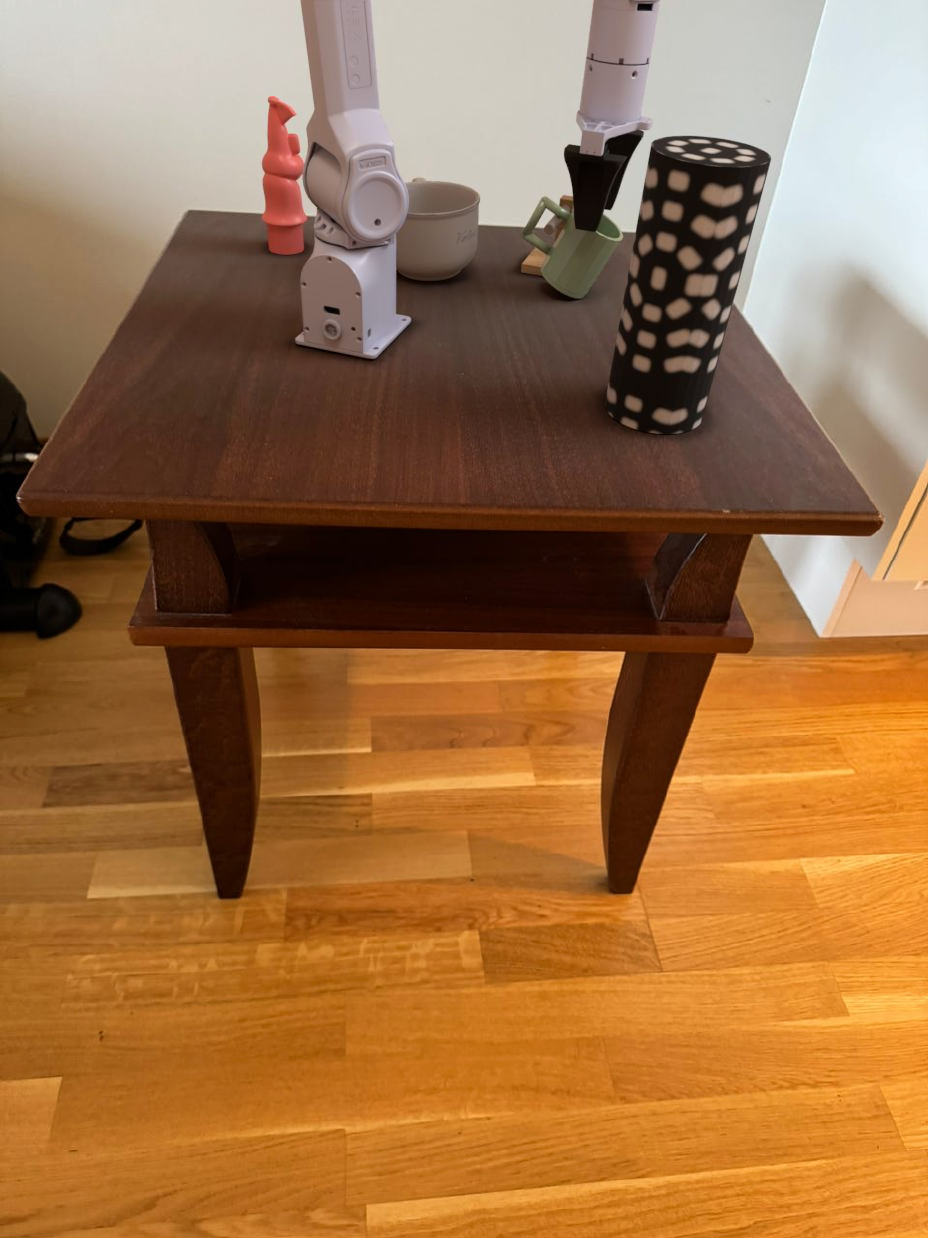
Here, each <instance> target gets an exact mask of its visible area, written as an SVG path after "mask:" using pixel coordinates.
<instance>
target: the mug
mask: <svg viewBox="0 0 928 1238" xmlns="http://www.w3.org/2000/svg"><path fill="white" fill-rule="evenodd" d="M546 210H548V211H549V212H551V213H552V214H553V215H556V216H558V217H559V218H561V219H562V220H564V221H565V222H566V225H565V226H564V228H563V230H562V231H561V233H560V235H559V236H558V238H557V240H556V241H555V240H554V243H553V245H552V246H551V245H549V244H548V243H547V242H545V241H543V240H542V239H541V238H539V237H538V236H536V235H535V234H534V233H533V232H534V230H535V229H536V227H537V226H538V224H539V221H540V220H541V218H542V217H543V214H544V213H545V211H546ZM521 238H522V239H523V240H525V241H526V242H527V243H528V244H530V245H532V246H533V247H534V248H535V247H536V248H537V249H539V250H540V251H542V252H543V253H545V254H546V255H547V257H546V258H545V260H544V262H543V264H542V265H541V273H542V275H543V276H542V277H543V278H544V280H545V281H546V282H547V283H548V284H549V285H550V286H551V287H553V288H554V289H555V290H556V291H558V292H560V293H561V294H563V295H564V296H567V297H570V298H573V299H584V298H585V297H586V295H587V294H588V292H589V291H590V289H591V288H592V286H593V285H594V283H595V282H596V280H597V279H598V277H599V275H600V274H601V272H602V271H603V270H604V268H605V266H606V265H607V263H608V262H609V260H610V259H611V257H612V255H613V254H614V252H615V251H616V250H617V248H618V246H619V245H620V243H621V242H622V240H623V238H624V234H623V232H622V230H621V228H620V227H619V226H618V225H617V223H615V222H614V221H613V219H611V218H610V217H609V216H607V215H606V214H605V213H603V216H602V219H601V222H600V224H599V227H598V229H597V231H596V232H591V231H585V230H579V229H575V222H574V211H573V213H572V214H570V213H569V212H568V211H566V210H565V209H563V208H562V207H561V206H559V204H558V203H556V202H555V201H553V199H551V198H549V197H548V196H545V195H544V196H542V197H541V198H540V200H539V202H538V204H537V206H535V209H534V211H533V212H532V214H531V216H530V218H529V219H528V222H527V223H526V225H525V226H524V229H522V232H521Z"/></svg>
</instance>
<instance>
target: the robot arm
mask: <svg viewBox="0 0 928 1238" xmlns="http://www.w3.org/2000/svg"><path fill="white" fill-rule="evenodd" d="M299 2H300V8H301V15H302V22H303V31H304V39H305V45H306V46H305V47H306V54H307V55H306V56H307V62H308V69H309V77H310V85H311V92H312V93H311V94H312V100H313V113H312V114H311V116H310V119H309V121H308V122H307V124H306V128H305V131H306V137H307V139H306V140H307V151H306V156H305V160H304V166H303V173H302V175H301V177H302V185H303V188H304V189H303V190H304V192H305V194H306V196H307V198H308V200H309V201H310V202H311V204H312V205H314V207H315V208H316V215H315V218H314V224H313V231H314V245H313V251H312V253H311V255H310V257H309V258H308V259H307V261H306V262H305V264H304V265H303V267H302V270H301V272H300V275H299V276H300V277H299V279H300V280H299V288H300V300H301V301H300V302H301V315H302V316H301V317H302V328H303V329H302V330H303V331H302V332H300V333H299V334H298V335H297V336H296V337H295V338H294V343H295V344H297V345H299V346H305V347H310V348H314V349H318V350H319V349H320V350H324V351H330V352H334V353H338V354H339V353H340V354H343V355H350V356H353V357H358V358H363V359H369V360H374V359H376V358H378V357H379V356H380V355H381V354H382V353H383V351H385V349H386V348H387V347H388V346H390V345H391V343H392V342H393V341H394V340H396V338H397V337H398V336H399V335H400V334H401V333H402V332H403V331H404V330H405V329H406V328H407V327H408V326H409V325H410V324H411V322H412V318H411V317H410V316H408V315H404V314H400V313H399V314H397V269H396V233H397V232H398V231H399V229H400V228H401V227H402V225H403V223H404V221H405V218H406V216H407V212H408V206H409V195H408V190H407V187H406V184H405V183H406V182H405V180H404V178H403V176H402V175H401V174H400V171H399V168H398V166H397V161H396V153H395V152H396V151H395V145H394V142H393V140H392V137H391V135H390V132H389V129H388V128H387V124H386V123H385V120H384V118H383V115H382V113H381V109H380V96H379V83H378V71H377V60H376V59H377V58H376V47H375V35H374V23H373V11H372V0H300V1H299ZM592 2H593V3H592V10H591V16H590V17H591V18H590V25H589V32H588V41H587V48H586V57H585V64H584V72H583V79H582V87H581V95H580V103H579V109H578V110H577V111H576V117H575V122H576V124H577V125H578V128H579V129H580V132H581V140H580V145H578V144H572V143H568V144H567V146H565V147H564V150H563V158H564V159H563V160H564V162H565V165H566V168H567V171H568V174H569V179H570V184H571V191H572V192H571V193H572V196H573V208H574V222H575V229H579V230H585V231H591V232H596V231H597V229H598V227H599V224H600V222H601V219H602V216H603V214H605V213H604V212H605V210H606V211H612V209H613V207H614V206H615V203H616V200H617V197H618V195H619V192H620V189H621V185H622V182H623V180H624V177H625V174H626V171H627V168H628V165H629V164H630V161H631V159H632V157H633V155H634V153H635V151H636V149H637V147H638V146H639V144H640V143H641V141H642V140H643V138H644V136H645V131H650V130H651V128H652V127H653V121H654V119H653V118H651V117H645V116H642V111H643V106H644V105H643V104H644V98H645V93H646V88H647V87H646V86H647V80H648V74H649V70H650V69H649V68H650V62H651V56H652V53H653V52H652V51H653V44H654V39H655V33H656V27H657V21H658V15H659V10H660V4H661V0H593V1H592Z"/></svg>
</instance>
